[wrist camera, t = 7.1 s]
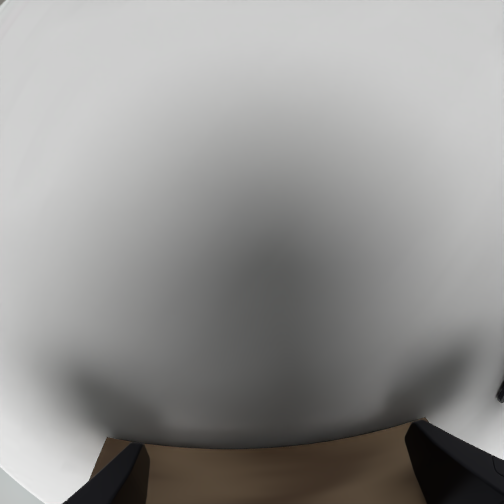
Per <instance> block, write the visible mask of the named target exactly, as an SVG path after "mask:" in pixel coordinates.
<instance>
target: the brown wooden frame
mask: <svg viewBox="0 0 504 504" xmlns="http://www.w3.org/2000/svg"><path fill="white" fill-rule="evenodd" d="M421 419H423V420H425V421H427V422H428V420H427V419H426V418H425V417H424V418H421ZM418 420H419V419H418ZM415 421H416V420H415ZM412 422H413V421H412ZM412 422H409V423H406V424H402V425H399V426H395V427H392V428H388V429H384V430H380V431H376V432H372V433H368V434H364V435H359V436H354V437H349V438H344V439H339V440H333V441H327V442H320V443H313V444H306V445H297V446H288V447H276V448H260V449H197V448H181V447H170V446H160V445H152V444H144V443H143V444H144V445H145V447H146V449H147V452H148V454H149V457H150V469H149V479H148V490H147V499H146V504H427V503H426V500H425V498H424V496H423V493H422V491H421V488H420V486H419V483H418V481H417V479H416V476H415V474H414V471H413V468H412V464H411V461H410V458H409V454H408V451H407V448H406V444H405V440H404V439H405V435H406V433H407V431H408V428H409V426H410V424H411V423H412ZM130 443H131V441H125V440H119V439H114V438H109V437H107V438H106V441H105V443H104V445H103V448H102V450H101V452H100V455H99V457H98V459H97V462H96V464H95V467H94V469H93V472H92V474H91V477H90V479H91V478H93V477H94V476H95V475H96V474H97V473H98V472H99V471H100V470H102V469H103V468H104V467H105V466H106V465H107V464H108V463H109V462H110V461H111V460H112V459H114V458H115V457H116V456H117V455H118V454H119V453H120V452H121V451H122V450H123V449H124V448H125V447H126V446H127V445H129V444H130ZM90 479H89V480H90Z"/></svg>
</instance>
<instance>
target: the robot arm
mask: <svg viewBox="0 0 504 504" xmlns="http://www.w3.org/2000/svg"><path fill="white" fill-rule="evenodd" d="M498 400H499V401H500V402H501V403H503V402H504V385H503V387H502V389H501V392H500V394H499V396H498ZM404 440H405V444H406V448H407V451H408V454H409V458H410V461H411V464H412V468H413V471H414V474H415V476H416V479H417V481H418V483H419V486H420V488H421V491H422V493H423V496H424V498H425V500H426V503H427V504H504V460H502V459H500V458H497V457H495V456H493V455H491V454H489V453H487V452H485V451H483V450H481V449H479V448H477V447H475V446H473V445H471V444H469V443H467V442H465V441H463V440H461V439H459V438H457V437H455V436H453V435H451V434H449V433H447V432H445V431H444V430H442V429H440V428H438V427H436V426H434V425H432V424H431V423H429V422H427V421H425V420H423V419H419V420H416V421H413V422H412V423H411V424H410V426H409V428H408V431H407V433H406V435H405V439H404ZM149 469H150V457H149V454H148V452H147V449H146V447H145V445H144V444H143V443H138V442H131V443H130V444H129V445H127V446H126V447H125V448H124V449H123V450H122V451H121V452H120V453H119V454H118V455H117V456H116V457H115V458H114V459H112V460H111V461H110V462H109V463H108V464H107V465H106V466H105V467H104V468H103V469H102V470H100V471H99V472H98V473H97V474H96V475H95V476H94V477H93V478H91V479H90V480H89V481H88V482H87V483H86V484H85V485H84V486H82V487H81V488H80V489H79V490H78V491H77V492H75V493H74V494H73V495H72V496H71V497H70V498H68V499H67V501H65V502H64V503H62V504H146V499H147V490H148V479H149Z"/></svg>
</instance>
